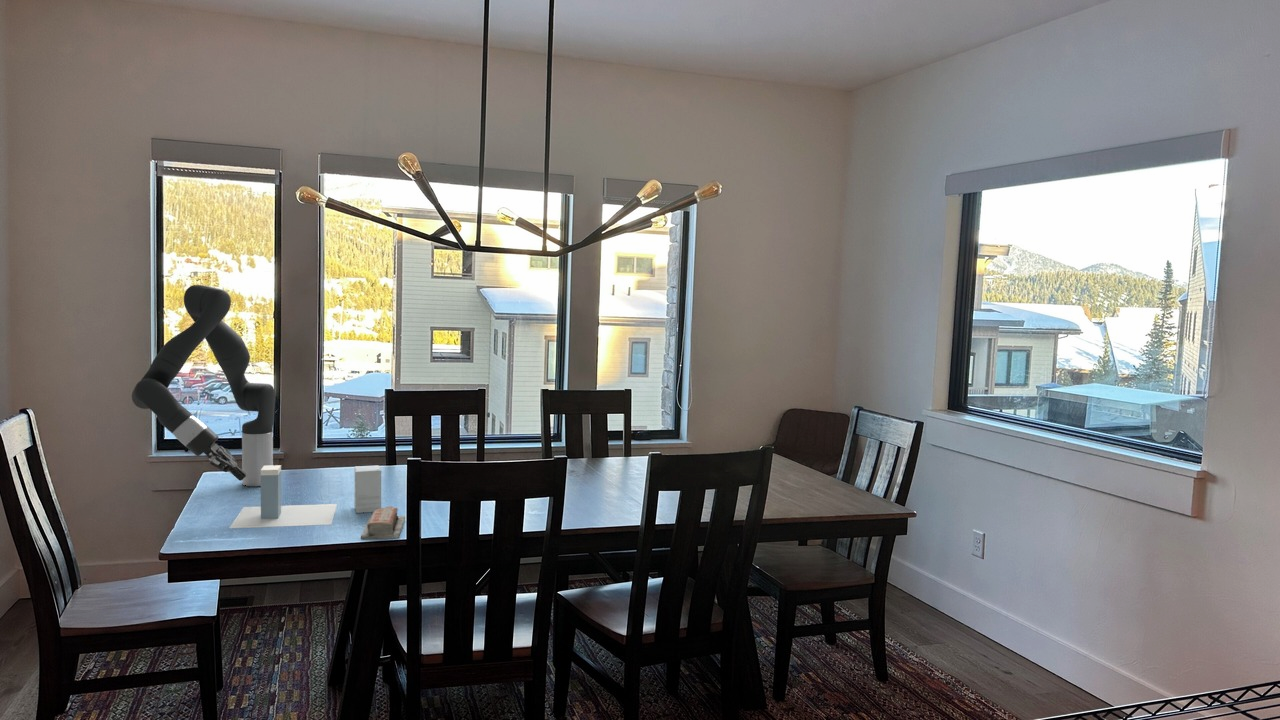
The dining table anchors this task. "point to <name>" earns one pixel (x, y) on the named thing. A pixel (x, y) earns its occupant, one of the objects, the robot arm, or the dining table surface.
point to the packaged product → (383, 524)
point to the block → (271, 492)
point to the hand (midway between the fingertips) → (243, 477)
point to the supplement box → (367, 488)
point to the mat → (287, 516)
